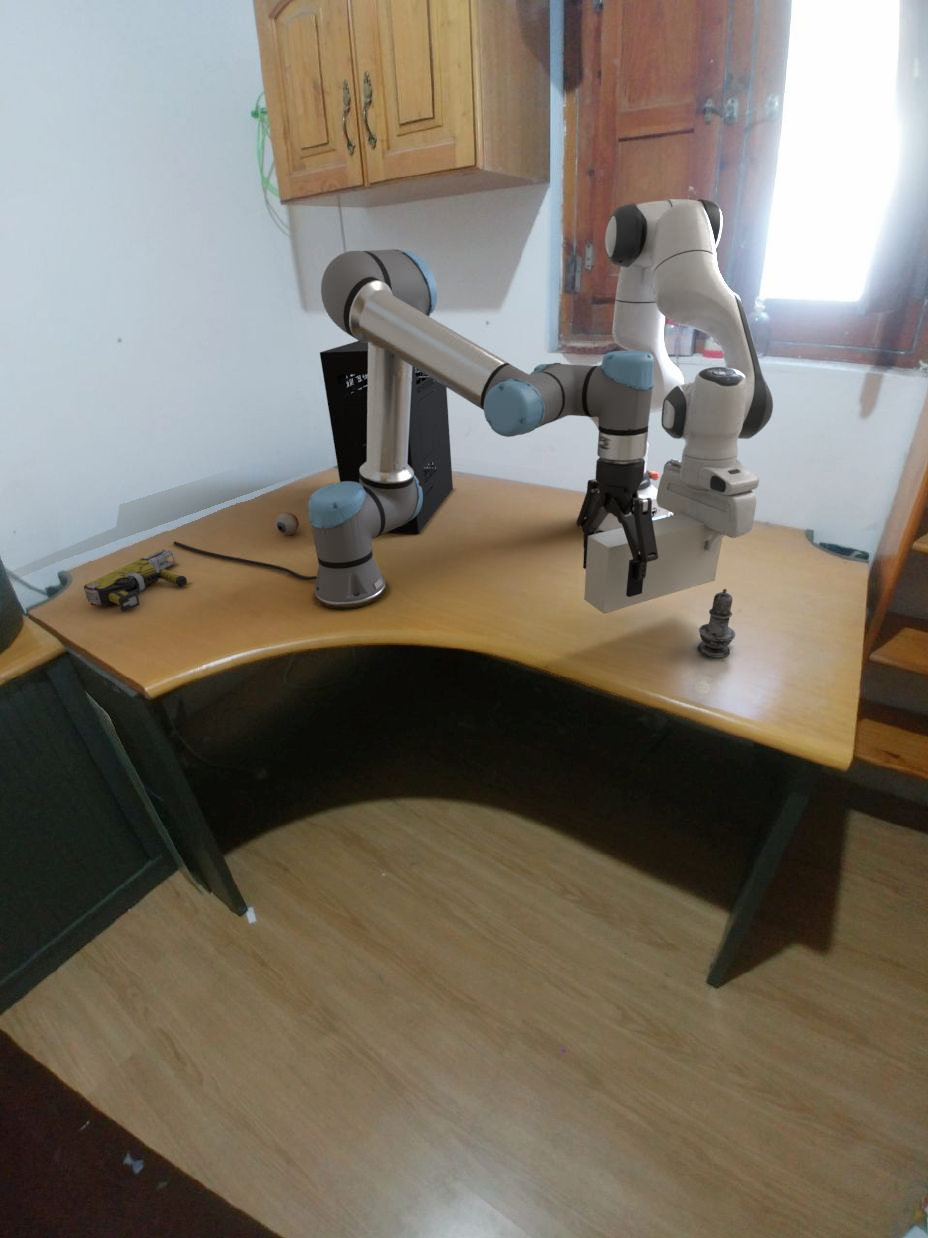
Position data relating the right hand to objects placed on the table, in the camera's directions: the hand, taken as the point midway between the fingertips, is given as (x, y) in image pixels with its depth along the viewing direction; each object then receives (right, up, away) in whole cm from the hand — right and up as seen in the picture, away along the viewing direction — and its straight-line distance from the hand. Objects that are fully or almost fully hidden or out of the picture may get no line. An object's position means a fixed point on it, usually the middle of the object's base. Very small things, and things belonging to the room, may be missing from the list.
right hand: (695, 543), depth 111 cm
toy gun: (-115, -7, +28) cm, 119 cm away
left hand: (-17, -7, -5) cm, 19 cm away
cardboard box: (-61, +19, +67) cm, 92 cm away
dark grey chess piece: (+1, -19, -5) cm, 20 cm away
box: (-8, -9, 0) cm, 12 cm away
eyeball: (-91, +9, +54) cm, 106 cm away
